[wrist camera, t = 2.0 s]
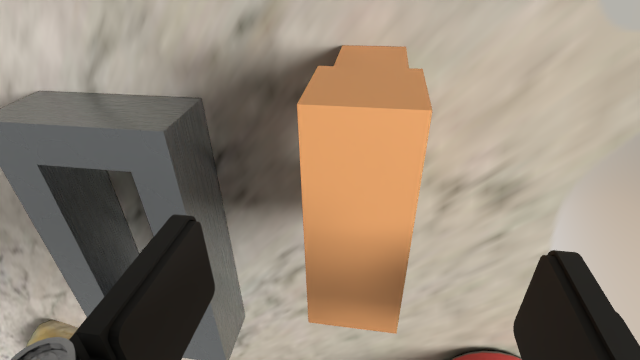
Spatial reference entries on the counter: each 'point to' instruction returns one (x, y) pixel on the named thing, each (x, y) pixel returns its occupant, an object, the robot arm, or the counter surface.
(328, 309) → the tall orange stepped block
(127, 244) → the gray rectangular frame
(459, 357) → the beer can
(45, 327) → the pastry
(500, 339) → the counter surface
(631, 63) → the counter surface
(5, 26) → the counter surface
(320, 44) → the counter surface
